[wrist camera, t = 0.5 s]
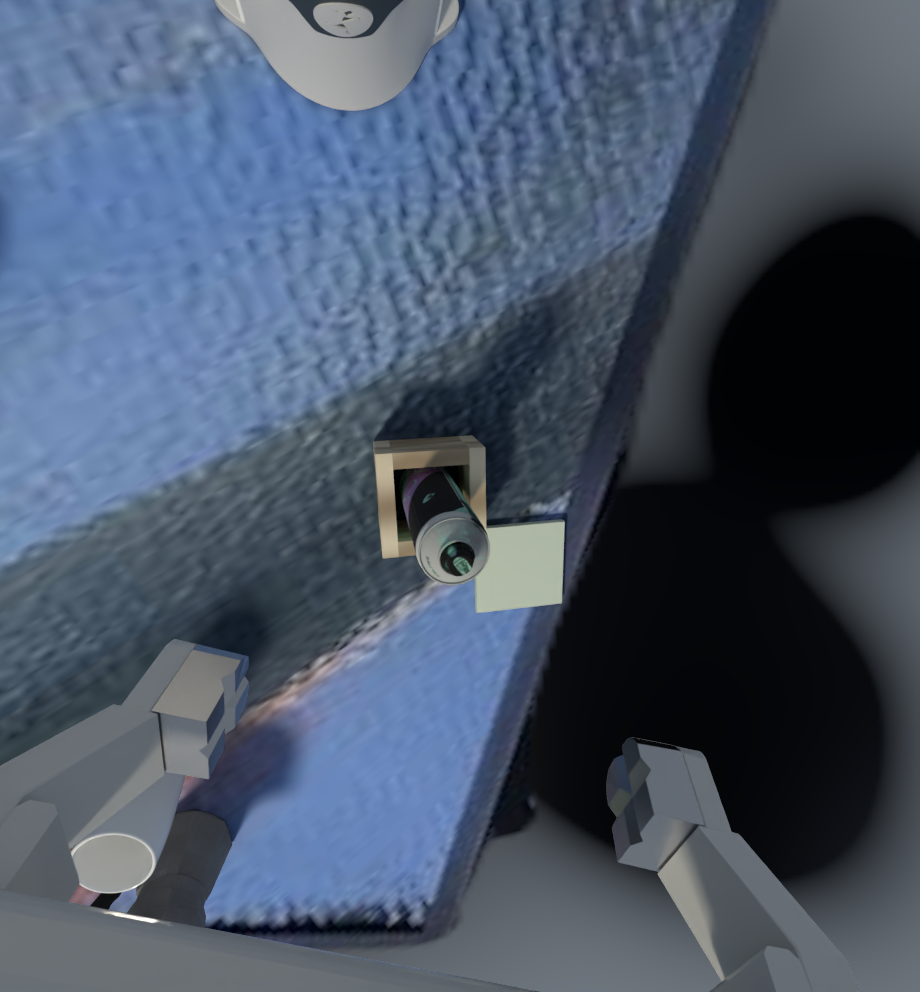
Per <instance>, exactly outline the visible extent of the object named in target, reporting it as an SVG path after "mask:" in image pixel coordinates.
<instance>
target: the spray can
mask: <svg viewBox="0 0 920 992" xmlns="http://www.w3.org/2000/svg"><path fill="white" fill-rule="evenodd" d="M399 489H400V495H401V499H402V503H403V506H404V510H405V514H406V518H407V522H408V526H409V529H410V533H411V537H412V541H413V545H414V548H415V552H416V556H417V559H418V562H419V564H420V566H421V567H422V569H423V570H424V572H425V573H426V574H427V575H428V576H429V577H430V578H431V579H433V580H434V581H436V582H438V583H441V584H445V585H458V584H463V583H466V582H468V581H470V580H472V579H474V578H475V577H476V576H477V575H479V574H480V573H481V571H482V570H483V569H484V567H485V566H486V564H487V562H488V559H489V555H490V543H489V539H488V535H487V532H486V530H485V529H484V527H483V525H482V524H481V522H480V521H479V519H478V517H477V516H476V514H475V513H474V511H473V510H472V508H471V507H470V505H469V503H468V502H467V500H466V499H465V497H464V496H463V494H462V493H461V491H460V490H459V488H458V486H457V485H456V483H455V482H454V480H453V479H452V477H451V476H450V474H449V473H448V471H447V470H446V469H445V468H444V467H443V466H439V467H424V468H410V469H406V470H405V471H404V473H403V475H402V476H401V479H400V485H399Z"/></svg>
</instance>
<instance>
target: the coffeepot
mask: <svg viewBox="0 0 920 992" xmlns="http://www.w3.org/2000/svg"><path fill="white" fill-rule="evenodd" d="M231 846H232V842H231V838H230V833H229V829H228V827H227V825H226V823H225V821H223V820H222V819H220V818H219V817H217V816H215V815H213V814H210V813H207V812H203V811H184V812H180V813H176V814H175V817H174V820H173V824H172V827H171V830H170V833H169V836H168V838H167V841H166V844H165V846H164V849H163V851H162V853H161V856H160V858H159V860H158V863H157V865H156V867H155V870H154V872H153V873H152V875H151V876H150V877H149V878H148V879H147V880H146V881H145V882H144V883H142V884H141V885H139V886H137V889H136V894H137V900H136V902H135V903H134V904H133V905H132V907H131V908H130V909H129V911H128V912H127V913H128V914H134V915H139V916H144V917H150V918H155V919H160V920H165V921H171V922H176V923H181V924H186V925H192V926H197V927H202V928H205V920H206V915H205V911H204V904H205V901H206V900H207V898H208V897H209V895H210V893H211V891H212V889H213V887H214V884H215V882H216V880H217V878H218V875H219V873H220V871H221V869H222V866H223V864H224V862H225V860H226V857H227V855H228V853H229V850H230V848H231ZM120 894H121V892H119V893H101V894H100V895H99V896H98V897H97V899H96V900H95V901H94V902H93V903H92V904H91V905H90V906H92V907H97V908H102V909H107V910H108V909H109V908H110V906H111V904H112V903H113V902H114V901H115V900H116V899H117V898H118V897H119V896H120Z"/></svg>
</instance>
